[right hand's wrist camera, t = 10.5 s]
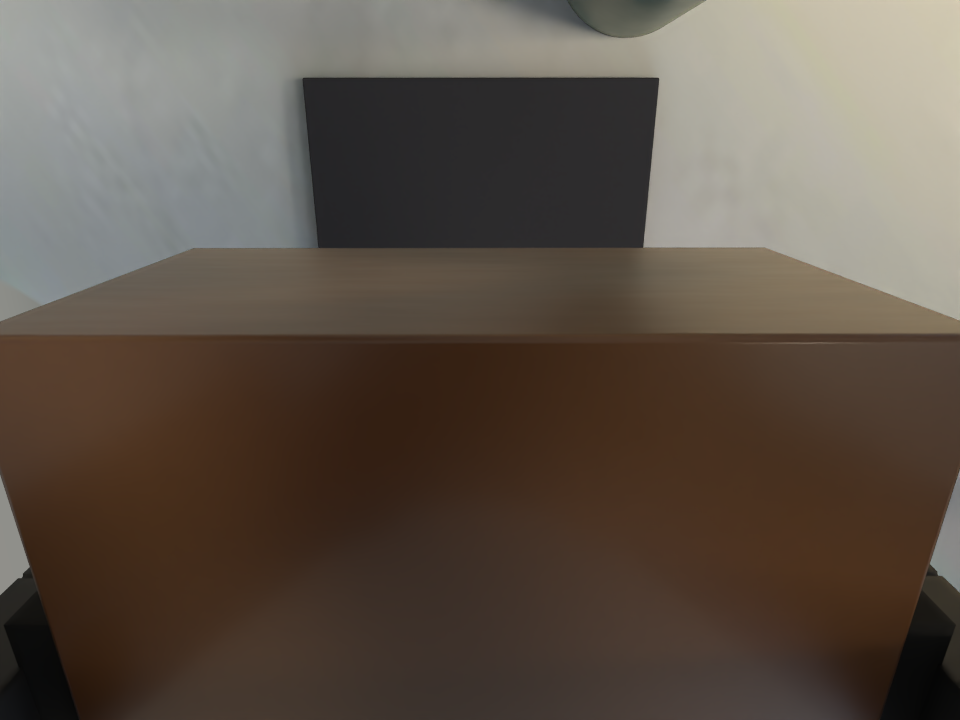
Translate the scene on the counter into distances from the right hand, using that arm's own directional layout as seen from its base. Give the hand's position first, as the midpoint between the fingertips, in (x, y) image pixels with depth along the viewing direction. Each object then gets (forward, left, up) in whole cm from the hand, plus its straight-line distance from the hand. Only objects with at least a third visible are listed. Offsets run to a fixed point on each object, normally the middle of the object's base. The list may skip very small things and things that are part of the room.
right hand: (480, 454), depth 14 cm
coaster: (0, 0, -25) cm, 25 cm away
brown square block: (0, 0, +2) cm, 2 cm away
